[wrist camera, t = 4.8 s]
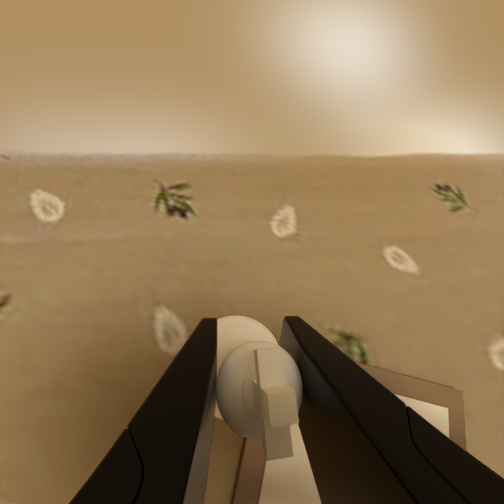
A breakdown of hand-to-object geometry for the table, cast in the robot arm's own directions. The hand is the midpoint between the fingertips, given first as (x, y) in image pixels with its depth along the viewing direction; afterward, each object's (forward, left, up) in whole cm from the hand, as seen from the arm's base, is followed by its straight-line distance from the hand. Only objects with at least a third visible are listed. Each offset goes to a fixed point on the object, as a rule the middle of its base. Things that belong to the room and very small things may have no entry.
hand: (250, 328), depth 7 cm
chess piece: (-1, 0, -7) cm, 7 cm away
